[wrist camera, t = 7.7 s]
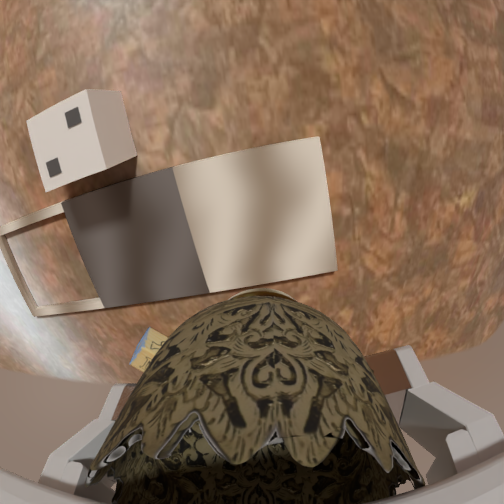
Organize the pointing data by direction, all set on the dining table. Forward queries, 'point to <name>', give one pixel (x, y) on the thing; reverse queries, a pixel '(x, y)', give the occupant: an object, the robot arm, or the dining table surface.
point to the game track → (198, 228)
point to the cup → (256, 414)
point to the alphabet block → (147, 349)
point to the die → (81, 137)
